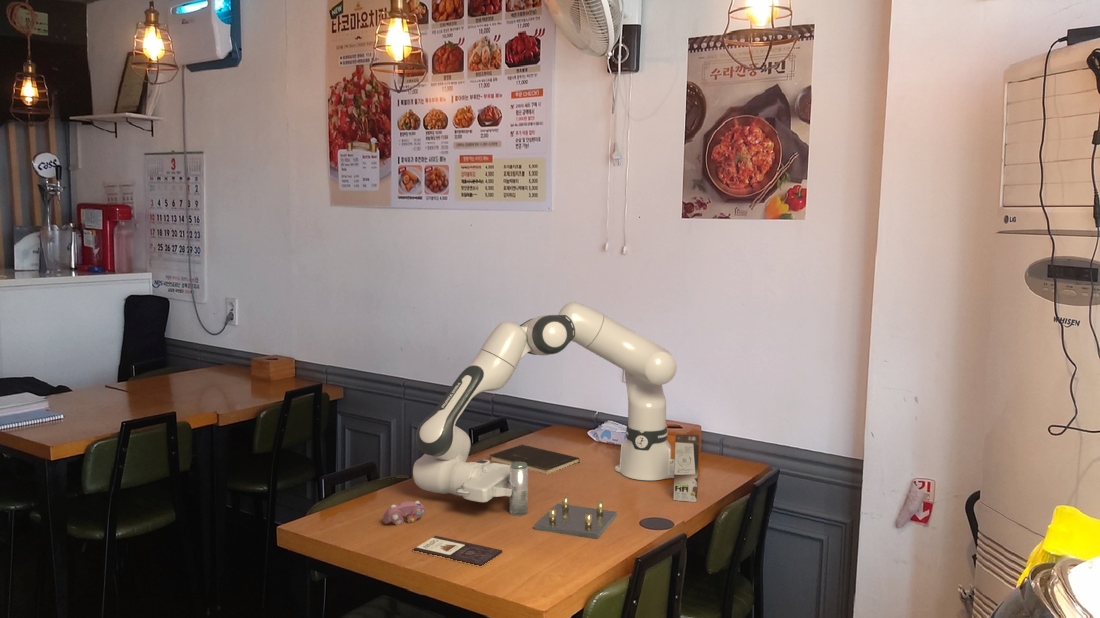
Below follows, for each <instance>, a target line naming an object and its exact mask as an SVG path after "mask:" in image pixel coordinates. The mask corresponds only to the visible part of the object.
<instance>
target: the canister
mask: <svg viewBox="0 0 1100 618" xmlns="http://www.w3.org/2000/svg"><path fill="white" fill-rule="evenodd" d="M528 484H529V470H528V466H527V463H525V462H520V461H518V462H512V463H511V466H510V485H509V488H513V494H512V495H511V496H509V515H511V516H514V517H515V516H516V517H521V516H522V517H523V516H526V515H527V514H528V512H529V511H528V510H529V509H528V504H529V502H528V501H529V500H528V498H529V495H528V494H529V486H528Z"/></svg>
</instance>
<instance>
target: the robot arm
mask: <svg viewBox="0 0 1100 618" xmlns="http://www.w3.org/2000/svg"><path fill="white" fill-rule="evenodd" d="M571 342H573V343H576V344H577V345H580V346H581V347H583V348H584V349H585V350H588V351H589V352H591V353H593V354H595V355H596V356H598V357H600V358H602V359H604V360H605V361H607V362H609V363H610V364H613V365H614V366H616V367H618V368H620V369H622V370H623V371H624V377H625V378H624V379H625V386H626V392H627V402H628V405H627V407H628V408H627V425H626V430H625V434H626V435H625V438H626V440H624V441H623V442H622V443H621V446H620V459H619V464H617V465H615V467H614V471H616V472H618V473H620V474H621V475H623V476H624V477H627V478H630V479H633V480H638V481H659V480H665V479H674V461H675V458H672V445H671V444H670V442H669V440H668V439H669V438H668V437H669V436H668V434H669V432H668V424H667V423H666V422H667V399H666V396H665V394H664V389H663V385H665V384H668V383H669V382H671V381H672V380H673V379H674V377H675V376H676V373H677V362H676V360H675V358H674V357H673V354H671V353H670V352H669V350H667V349H666V348H665V347H662V346H661V345H660V344H657V343H655V342H654V341H652V340H650V339H648V338H646V337H644V336H642V334H639V333H637V332H635V331H634V330H632V329H630V328H628V327H626V326H624V325H623V324H621V323H619V322H618V321H615V320H614V319H612V318H611V317H609V316H607V315H605V314H604V313H602V312H600V311H599V310H597V309H595V308H592V307H590V306H588V305H585V304H582V303H579V302H576V301H571V302H570V301H569V302H568V303H566V304H565V305H564V306H562V307H561V309H560V310H559V312H558V314H550V315H549V314H548V315H540V316H536V317H534V318H530V319H528V320H526V321H524V322H523V323H521V324H517V323H516V322H512V321H503V322H500V323H499V324H498V325H497V326H495V328H494V329H493V331H491V333H490V334H489V336H488V337H487V338H486V340H485V341H484V343H483V344H482V346H481V348H480V350H479V351H478V353H477V354H476V356H475V357H474V359H473V360H472V361H471V363H470V364H469V365H468V366H467V367H466V368H465V369H464V370H463V371H462V372H461V373H460V374H459V376H458V377H456V379H455V380H454V382H453V384H452V385H451V386H450V388H448V390H447V392H446V393H445V395H444V396H443V398H442V399H441V401H440V402H439V403H438V405H437V406H436V408H435V409H434V410H433V411H432V412H431V413H430V414H429V415H428V416H426V417H425V418H424V419H423V420H422V421H421V422H420V423H419V424H418V427H417V429H416V432H415V443H416V445H417V448H418V450H419V451H421V452H422V453H423V455H422V456H421V457H420V458H418V459H416V461H415V462H414V464H413V467H412V478H413V481H414V483H415V485H416V486H417V487H418V488H420V489H421V490H423V491H427V492H431V493H437V494H442V495H446V494H451V495H454V496H457V497H462V498H463V499H465V500H467V501H472V502H478V503H488V502H489V501H490V500H492V499H493V498H495V497H496V498H497V497H510V496H511V495H512V494H513V488H510V466H511V465H508V464H505V463H501V462H491V460H489V459H481V460H478V461H469V462H468V457H469V454H470V452H471V447H472V442H471V438H470V436H469V434H468V433H467V432H466V431H464V429H461V428H460V427H458V426H456V423H457V421H458V419H459V418H460V416H461V415H462V414H463V412H464V411H465V409H466V407H467V406H468V404H469V403H470V401H471V400H472V399H473V398H474V397H475V396H477V395H479V394H480V393H484V392H494V391H498V390H501V389H502V388H504V387H505V385H507V383H508V382H509V380H511V377H512V376H513V374H514V373H515V371H516V369H517V367H518V366H519V363H520V361H521V360H522V358H523V357H524V356H525V355H526V354H529V355H534V356H549V355H555V354H559V353H560V352H562V351H564V350H565V349H566V348H567V346H568V345H569V344H570V343H571Z"/></svg>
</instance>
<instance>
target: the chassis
mask: <svg viewBox="0 0 1100 618" xmlns="http://www.w3.org/2000/svg"><path fill="white" fill-rule="evenodd" d="M569 501H570V499H569V497H567V496H563V497H562V502H561V503H558V502H557V504H555V505H554V506H553V507H552V508H549V511H547V512H546V513H545V514H544V515H543V516H542V517H541V518H540V519H539V520H538V521H537V522H535V523H534V524H533V525H534V528H533V529H534V530H536V531H543V532H547V533H548V532H550V533H556V534H562V535H569V536H575V537H581V538H588V539H589V538H590V539H594V540H598V539H599V538H600V537H601V536H602V534H604V533H605V531H606V529H608V527H610V525H611V524H612V523H613V522H614V521H615V519H616V518H617V516H618V511H614V510H608V509H607V510H606V509H604V502H603V501H597V502H596V508H592V507H585V506H579V505H571V504H569V503H570V502H569Z"/></svg>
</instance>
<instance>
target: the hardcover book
mask: <svg viewBox="0 0 1100 618" xmlns="http://www.w3.org/2000/svg"><path fill="white" fill-rule="evenodd" d="M489 457H491V458H490V461H492V462H496V463H500V464H505V463H506V465H508V464H509V465H511V463H512V462H518V461H520V462H525V463H527V466H528V469H530V470H529V471H532V470H535V471H534V472H536V471H539V472H542V473H541V474H543V473H546V474H545V475H550V474H552V473H551V472H553V473H555V472H557V471H556V470H558V471H560V470H559V469H561V470H563V469H565V468H564V467H566V468H568V467H567V466H569V465H571V466H573V465H572V464H574V463H577V462H579V463H580V461H581V460H580V457H577V456H574V455H569V454H564V453H561V452H556V451H553V450H547V449H544V448H539V447H535V446H530V445H526V444H520V445H517V446H513V447H510V448H507V449H504V450H500V451H497V452H494V453H492V454H491V453H490V454H489ZM577 464H578V463H577ZM574 465H575V464H574ZM569 467H570V466H569ZM562 468H563V469H562ZM554 471H555V472H554ZM539 472H538V473H539ZM549 473H550V474H549Z"/></svg>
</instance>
